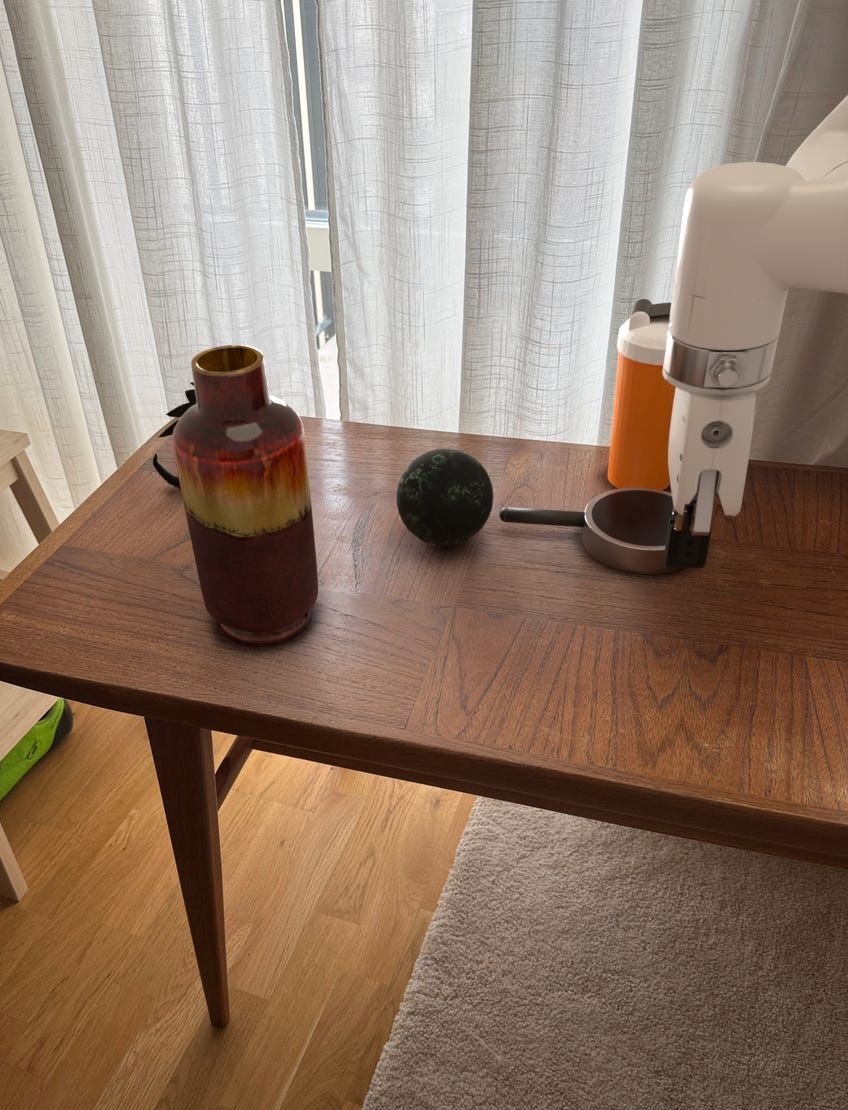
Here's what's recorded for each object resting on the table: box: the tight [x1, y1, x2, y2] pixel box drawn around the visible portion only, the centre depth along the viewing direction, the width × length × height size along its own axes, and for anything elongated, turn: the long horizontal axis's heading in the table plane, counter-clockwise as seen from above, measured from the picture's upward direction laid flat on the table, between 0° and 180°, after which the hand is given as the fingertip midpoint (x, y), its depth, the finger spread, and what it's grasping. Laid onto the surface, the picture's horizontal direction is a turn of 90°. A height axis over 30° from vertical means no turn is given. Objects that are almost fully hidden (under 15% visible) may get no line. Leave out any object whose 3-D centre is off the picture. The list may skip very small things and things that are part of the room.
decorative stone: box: [395, 448, 494, 547], centre depth 95 cm, size 10×10×10 cm
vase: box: [171, 344, 319, 647], centre depth 81 cm, size 11×11×26 cm
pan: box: [498, 487, 683, 575], centre depth 96 cm, size 21×12×3 cm, turn 79°
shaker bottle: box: [607, 298, 676, 491], centre depth 100 cm, size 9×9×20 cm
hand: (683, 561), depth 78 cm, fingers closed
